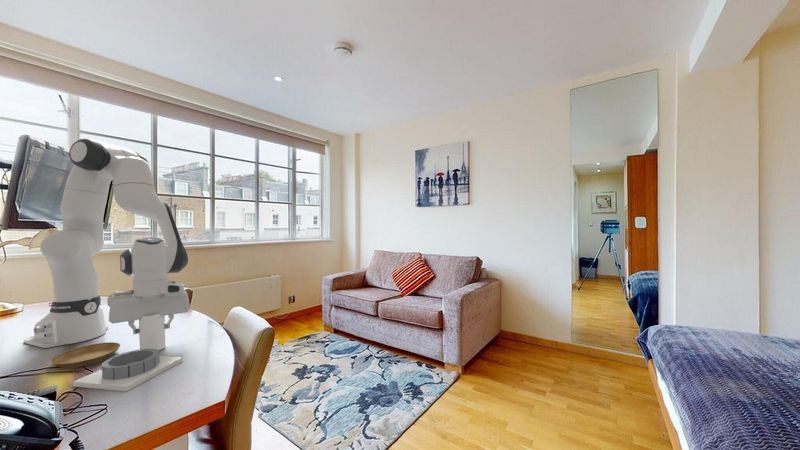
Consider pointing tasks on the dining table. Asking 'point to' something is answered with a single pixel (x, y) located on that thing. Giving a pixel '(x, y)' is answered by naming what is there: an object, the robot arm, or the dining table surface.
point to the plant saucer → (85, 355)
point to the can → (152, 332)
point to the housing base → (127, 381)
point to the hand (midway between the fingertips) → (152, 330)
